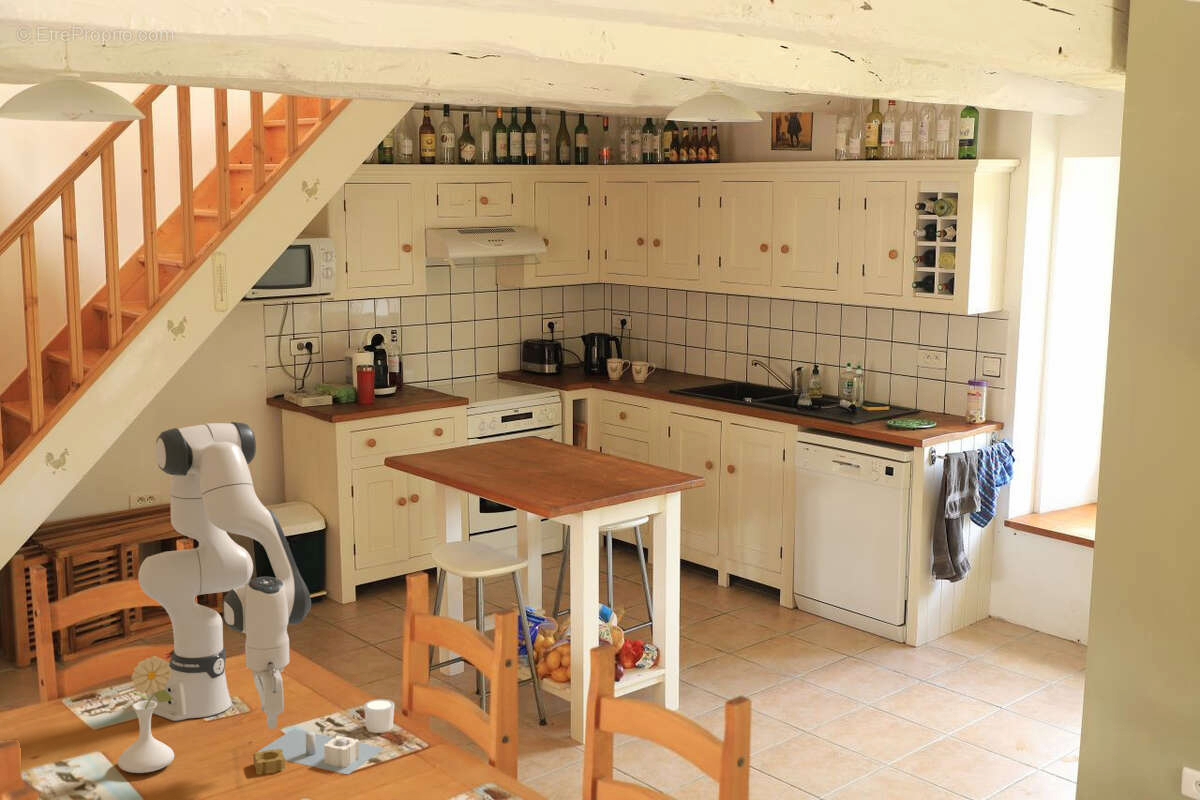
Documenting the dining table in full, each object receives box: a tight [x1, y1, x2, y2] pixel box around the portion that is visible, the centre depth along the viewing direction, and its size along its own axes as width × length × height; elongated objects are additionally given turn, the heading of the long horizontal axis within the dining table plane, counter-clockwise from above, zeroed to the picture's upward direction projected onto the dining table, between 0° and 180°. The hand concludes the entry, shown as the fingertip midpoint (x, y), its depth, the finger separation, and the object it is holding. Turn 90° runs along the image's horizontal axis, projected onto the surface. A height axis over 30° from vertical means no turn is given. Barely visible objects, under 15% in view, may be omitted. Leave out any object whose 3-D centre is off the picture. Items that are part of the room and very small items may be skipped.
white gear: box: [324, 735, 360, 768], centre depth 256 cm, size 7×7×4 cm
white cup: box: [363, 698, 396, 734], centre depth 273 cm, size 7×7×7 cm
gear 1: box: [253, 749, 286, 775], centre depth 253 cm, size 7×7×4 cm
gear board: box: [257, 728, 385, 775], centre depth 261 cm, size 24×14×6 cm, turn 68°
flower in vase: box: [117, 655, 175, 774], centre depth 253 cm, size 13×11×25 cm
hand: (268, 719), depth 251 cm, fingers open, 8 cm apart
